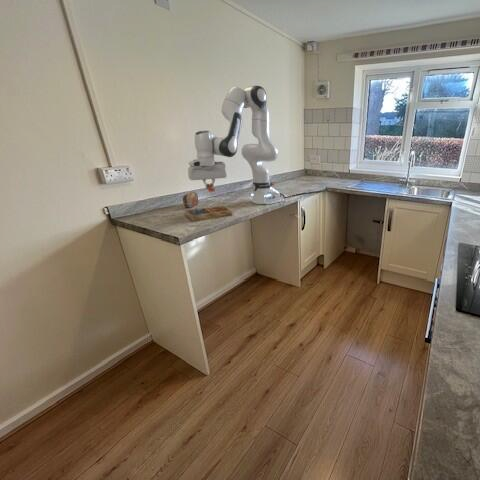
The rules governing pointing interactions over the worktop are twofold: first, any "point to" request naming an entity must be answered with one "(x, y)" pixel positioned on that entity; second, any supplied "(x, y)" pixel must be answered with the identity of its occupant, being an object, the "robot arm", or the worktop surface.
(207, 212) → the cutlery tray
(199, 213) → the blue spoon
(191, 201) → the tin
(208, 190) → the terracotta spoon
